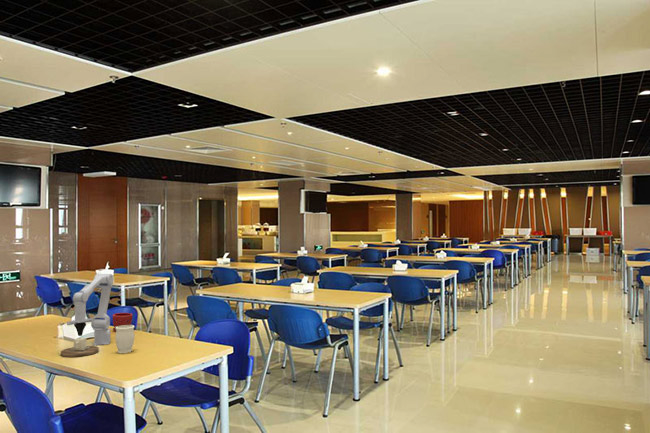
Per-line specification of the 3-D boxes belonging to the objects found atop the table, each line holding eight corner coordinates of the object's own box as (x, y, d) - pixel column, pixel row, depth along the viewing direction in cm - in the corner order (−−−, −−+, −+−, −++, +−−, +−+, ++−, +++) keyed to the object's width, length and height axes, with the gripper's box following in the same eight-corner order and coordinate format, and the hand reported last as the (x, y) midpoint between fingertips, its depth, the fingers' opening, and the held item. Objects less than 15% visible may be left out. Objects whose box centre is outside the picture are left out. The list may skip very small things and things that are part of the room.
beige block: (78, 348, 289) (78, 337, 289) (86, 348, 289) (86, 337, 289) (71, 352, 281) (71, 340, 281) (79, 352, 281) (79, 340, 281)
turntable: (72, 348, 296) (72, 340, 296) (104, 348, 296) (104, 340, 296) (53, 356, 276) (53, 349, 276) (88, 357, 276) (88, 349, 276)
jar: (138, 350, 292) (138, 325, 292) (125, 354, 282) (126, 328, 282) (123, 349, 295) (124, 324, 296) (111, 353, 286) (111, 327, 286)
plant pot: (114, 333, 339) (114, 316, 339) (111, 330, 350) (111, 313, 350) (134, 331, 346) (134, 314, 346) (130, 328, 357) (130, 311, 357)
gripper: (89, 310, 298) (88, 332, 297) (64, 313, 286) (64, 336, 286) (94, 311, 294) (94, 334, 293) (70, 314, 282) (69, 338, 282)
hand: (80, 335), depth 289 cm, fingers closed
